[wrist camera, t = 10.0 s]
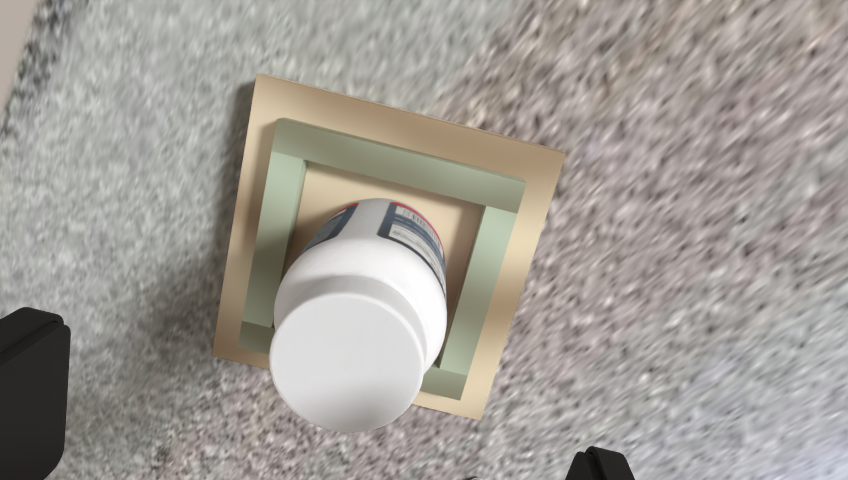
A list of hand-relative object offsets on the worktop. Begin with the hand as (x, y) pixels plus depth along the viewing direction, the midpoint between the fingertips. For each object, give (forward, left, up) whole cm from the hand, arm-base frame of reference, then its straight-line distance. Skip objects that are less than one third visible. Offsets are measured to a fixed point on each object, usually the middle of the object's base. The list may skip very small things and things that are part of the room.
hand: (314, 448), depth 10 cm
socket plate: (+1, 0, -14) cm, 14 cm away
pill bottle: (+1, 0, -13) cm, 13 cm away
